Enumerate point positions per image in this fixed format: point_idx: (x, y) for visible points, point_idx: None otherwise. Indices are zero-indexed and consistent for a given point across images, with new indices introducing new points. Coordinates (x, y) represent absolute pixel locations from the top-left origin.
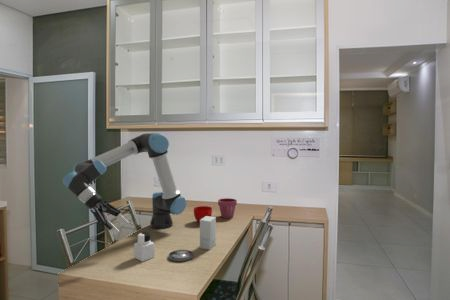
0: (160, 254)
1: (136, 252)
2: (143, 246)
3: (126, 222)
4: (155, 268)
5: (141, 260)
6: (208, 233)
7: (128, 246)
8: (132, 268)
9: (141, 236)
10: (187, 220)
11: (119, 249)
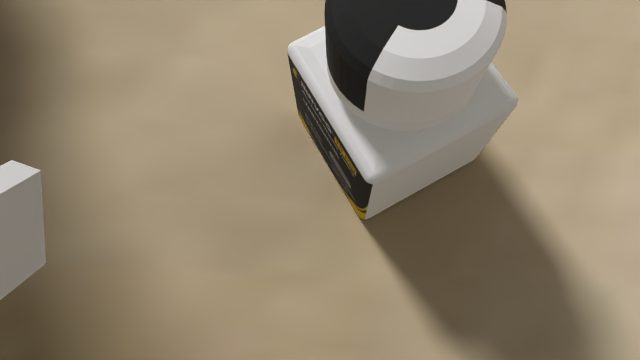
0: None
1: (408, 184)
2: (506, 85)
3: (12, 210)
4: (637, 72)
5: (470, 161)
6: None
7: None
8: (592, 246)
9: (497, 44)
10: None
11: (74, 356)
